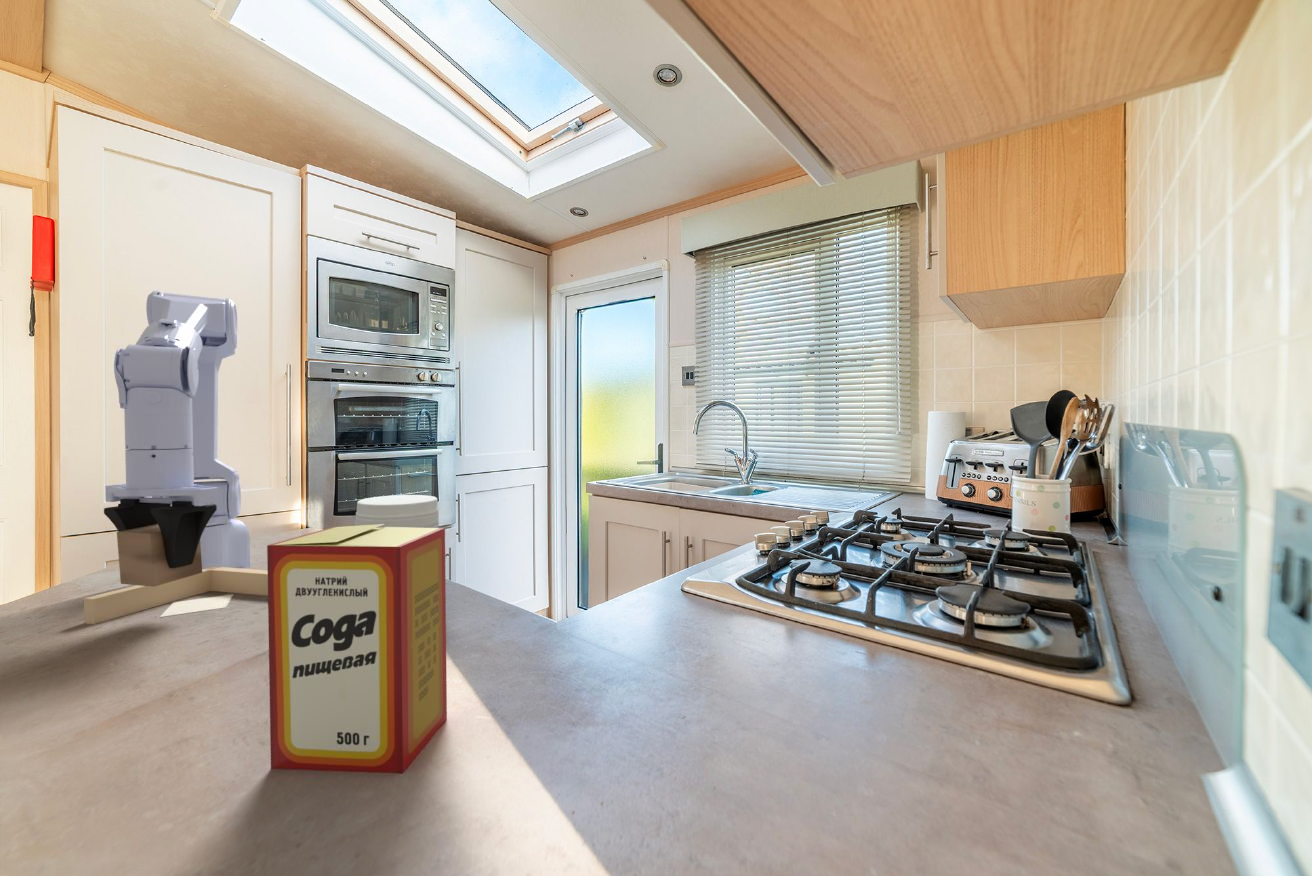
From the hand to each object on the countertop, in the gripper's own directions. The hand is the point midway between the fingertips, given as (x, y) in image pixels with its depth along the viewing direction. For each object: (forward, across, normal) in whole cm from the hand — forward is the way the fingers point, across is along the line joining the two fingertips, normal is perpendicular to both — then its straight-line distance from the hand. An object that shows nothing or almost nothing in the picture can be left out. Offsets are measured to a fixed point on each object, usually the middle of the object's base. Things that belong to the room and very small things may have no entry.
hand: (162, 564), depth 60 cm
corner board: (+8, +2, +4) cm, 9 cm away
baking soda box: (+8, +40, -13) cm, 43 cm away
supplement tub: (+8, +23, +11) cm, 27 cm away
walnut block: (+2, 0, 0) cm, 2 cm away
